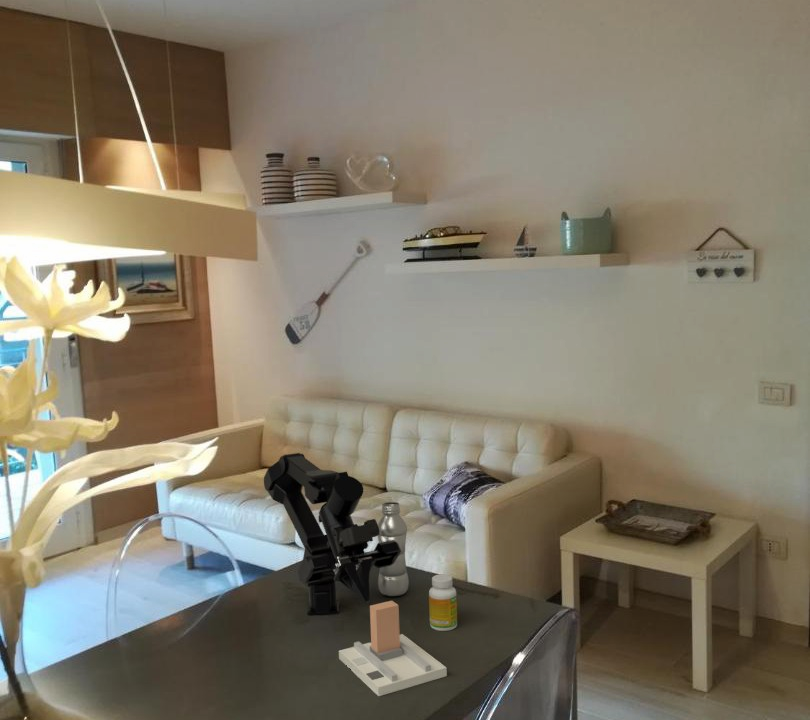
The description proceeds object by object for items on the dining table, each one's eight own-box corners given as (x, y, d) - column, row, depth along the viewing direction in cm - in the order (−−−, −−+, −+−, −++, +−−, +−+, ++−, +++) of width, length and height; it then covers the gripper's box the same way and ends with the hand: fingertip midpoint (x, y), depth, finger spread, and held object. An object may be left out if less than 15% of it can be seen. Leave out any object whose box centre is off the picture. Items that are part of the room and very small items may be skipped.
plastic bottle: (381, 588, 180) (377, 500, 178) (411, 588, 179) (408, 500, 177) (375, 599, 174) (372, 508, 172) (407, 600, 173) (404, 508, 171)
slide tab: (369, 653, 145) (367, 604, 144) (391, 647, 147) (390, 599, 146) (379, 661, 141) (378, 611, 140) (402, 655, 143) (400, 606, 142)
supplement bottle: (455, 632, 156) (453, 583, 155) (427, 631, 157) (426, 582, 156) (459, 621, 161) (457, 573, 160) (432, 619, 162) (430, 572, 161)
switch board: (339, 658, 146) (338, 645, 146) (402, 641, 152) (402, 628, 152) (378, 696, 132) (377, 681, 132) (446, 676, 138) (446, 661, 138)
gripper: (304, 514, 149) (330, 591, 140) (394, 499, 157) (424, 570, 149) (291, 545, 156) (315, 620, 147) (378, 529, 165) (406, 599, 156)
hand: (366, 601), depth 150 cm, fingers closed
